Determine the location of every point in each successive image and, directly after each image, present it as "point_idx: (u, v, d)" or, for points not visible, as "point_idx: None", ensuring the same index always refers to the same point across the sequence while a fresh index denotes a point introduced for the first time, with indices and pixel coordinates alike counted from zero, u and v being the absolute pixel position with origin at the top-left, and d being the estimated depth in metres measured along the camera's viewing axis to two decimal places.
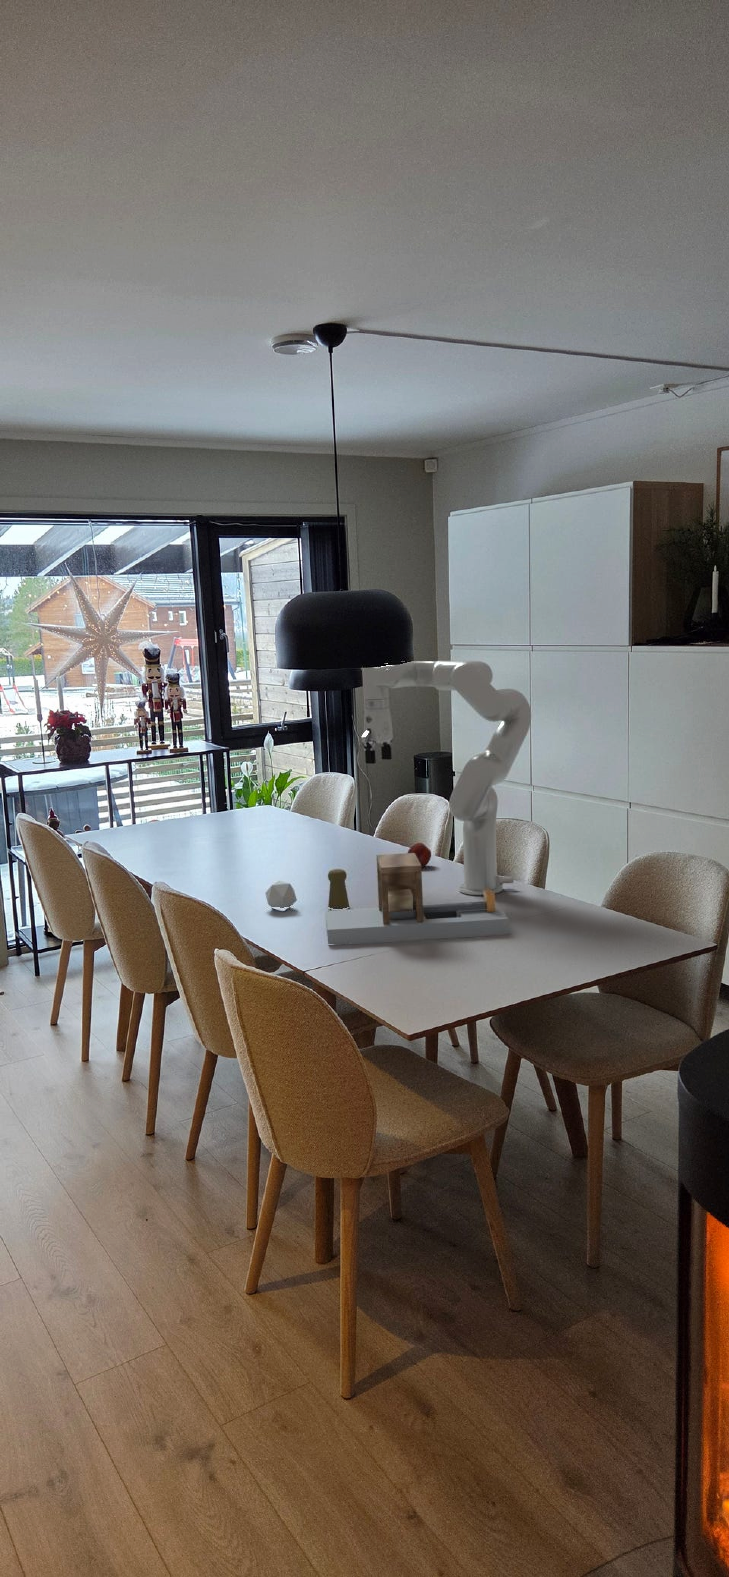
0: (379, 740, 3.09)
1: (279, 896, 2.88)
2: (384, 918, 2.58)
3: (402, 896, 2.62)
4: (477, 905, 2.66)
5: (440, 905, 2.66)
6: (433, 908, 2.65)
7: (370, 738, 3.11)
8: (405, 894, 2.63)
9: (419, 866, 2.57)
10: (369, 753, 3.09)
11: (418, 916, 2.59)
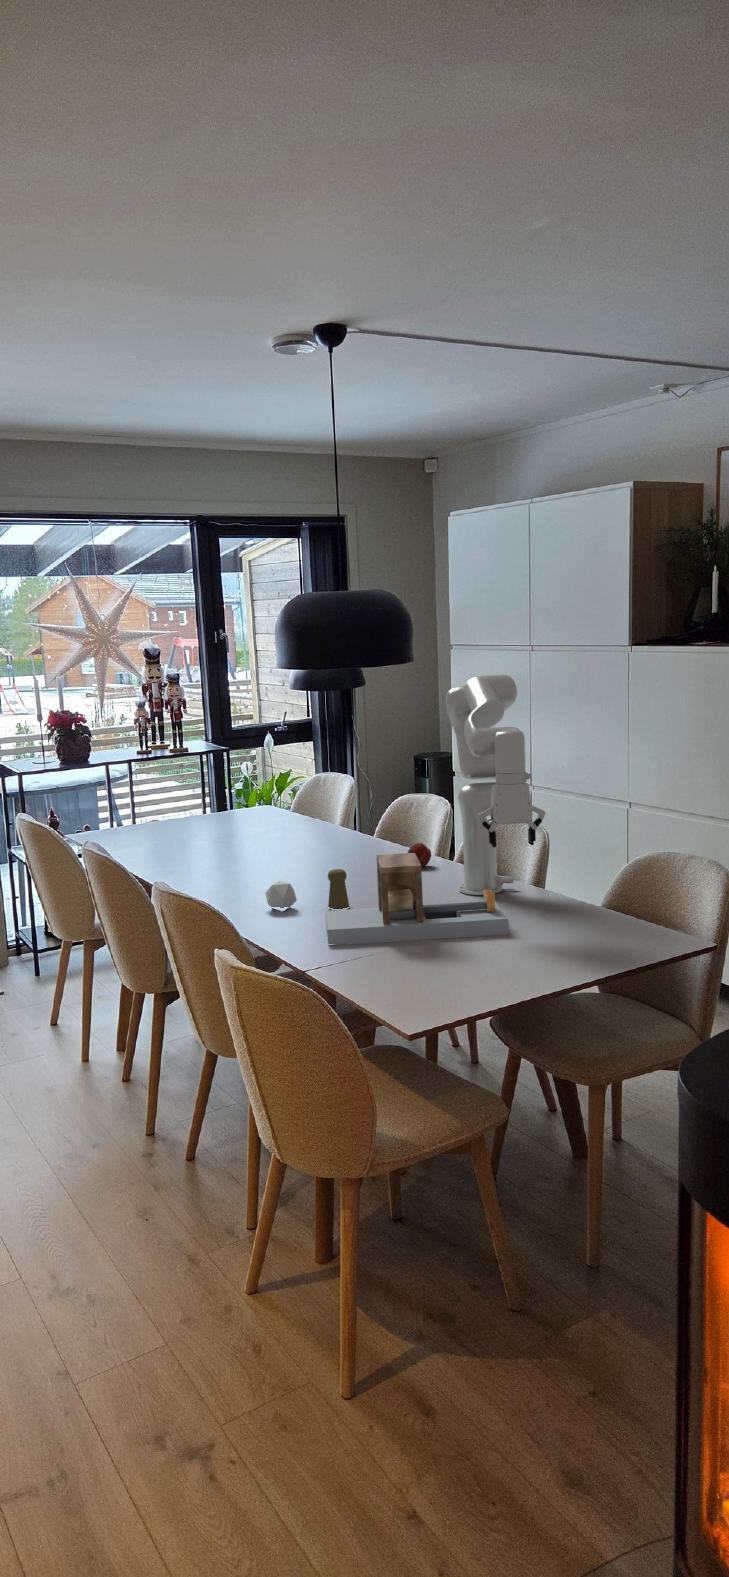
0: None
1: (279, 897, 2.88)
2: (384, 918, 2.58)
3: (402, 896, 2.62)
4: (477, 905, 2.66)
5: (440, 905, 2.66)
6: (433, 908, 2.65)
7: None
8: (405, 894, 2.63)
9: (419, 866, 2.57)
10: None
11: (418, 916, 2.59)
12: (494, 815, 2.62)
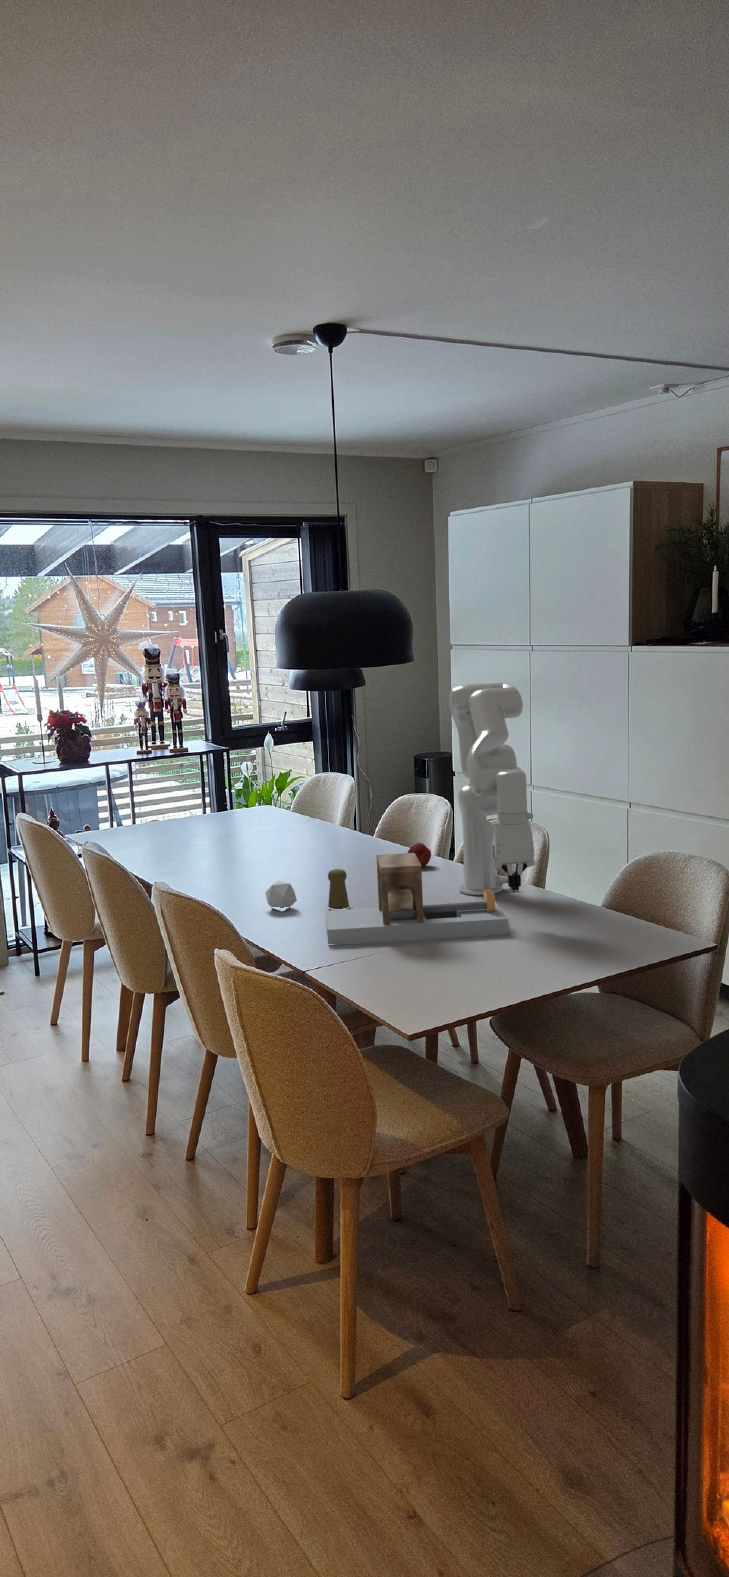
0: None
1: (279, 897, 2.88)
2: (384, 918, 2.58)
3: (402, 896, 2.62)
4: (477, 905, 2.66)
5: (440, 905, 2.66)
6: (433, 908, 2.65)
7: None
8: (405, 894, 2.63)
9: (419, 866, 2.57)
10: None
11: (418, 916, 2.59)
12: (496, 855, 2.63)
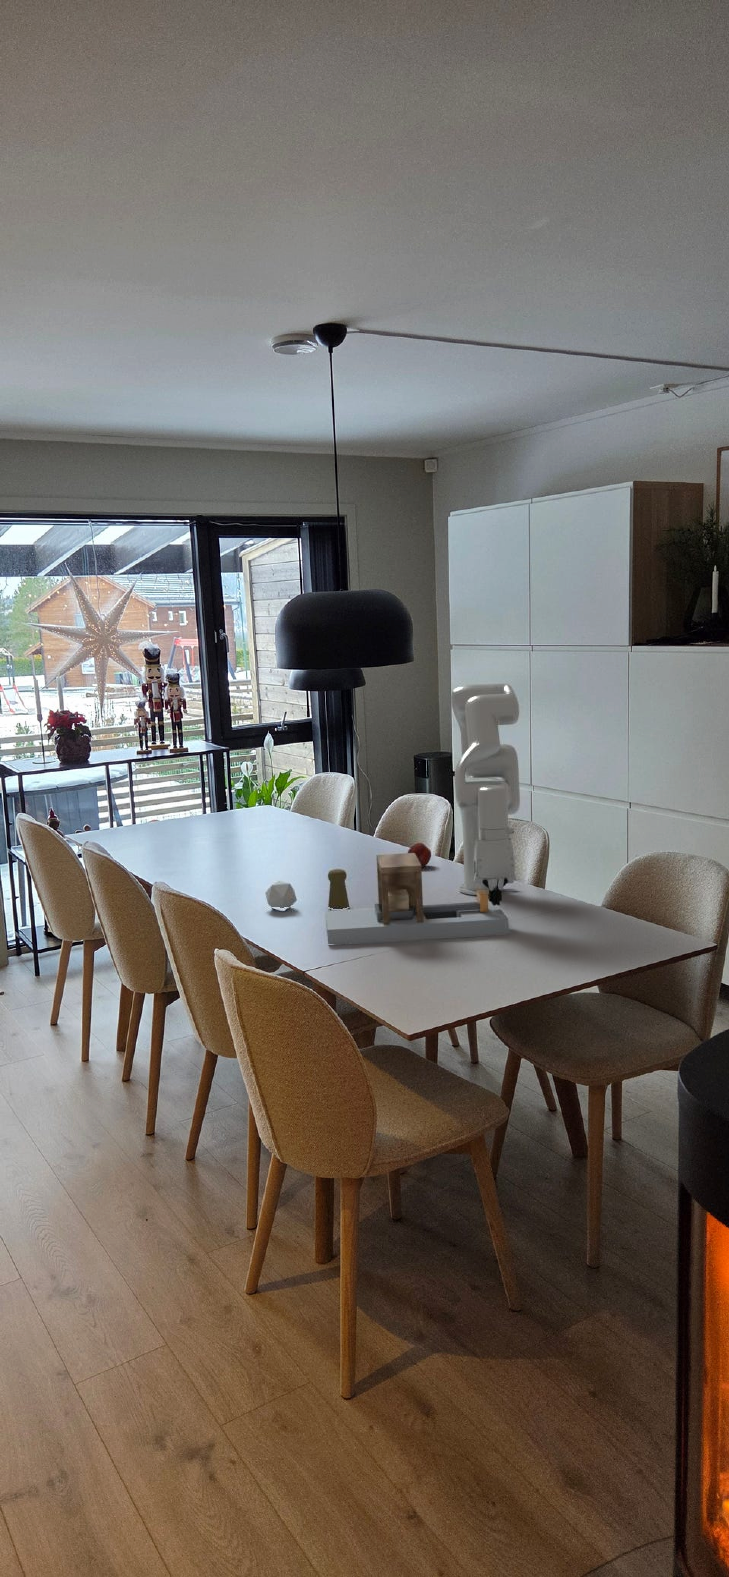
0: None
1: (279, 896, 2.88)
2: (384, 918, 2.58)
3: (398, 896, 2.62)
4: (470, 905, 2.66)
5: (433, 905, 2.66)
6: (426, 908, 2.65)
7: None
8: (401, 894, 2.63)
9: (419, 866, 2.57)
10: None
11: (418, 916, 2.59)
12: (477, 870, 2.64)
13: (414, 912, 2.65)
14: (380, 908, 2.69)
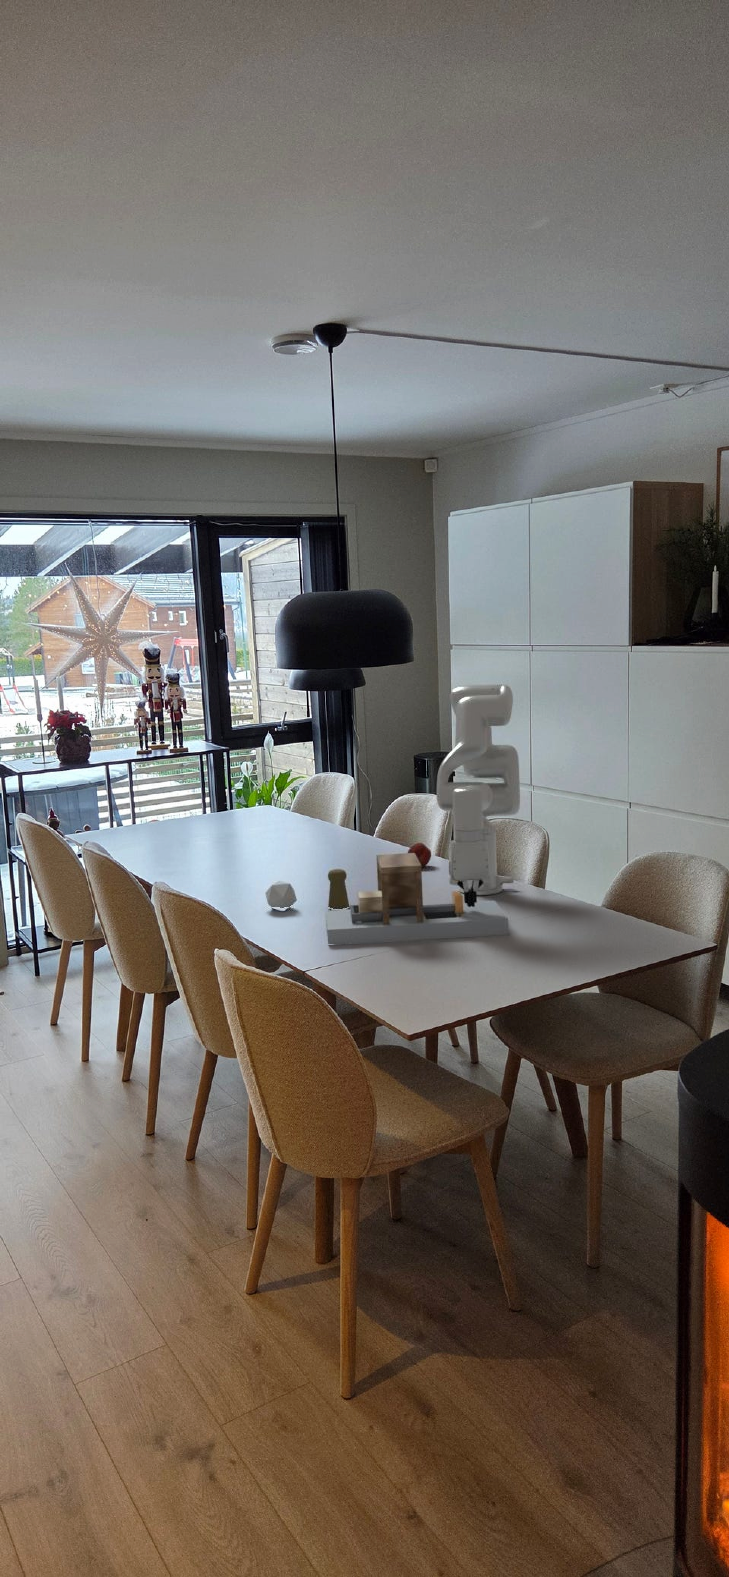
0: None
1: (279, 896, 2.88)
2: (384, 918, 2.58)
3: (372, 898, 2.62)
4: (445, 907, 2.65)
5: (408, 907, 2.66)
6: (401, 910, 2.65)
7: None
8: (376, 896, 2.63)
9: (419, 866, 2.57)
10: None
11: (418, 916, 2.59)
12: (452, 872, 2.63)
13: (389, 914, 2.65)
14: (355, 910, 2.69)
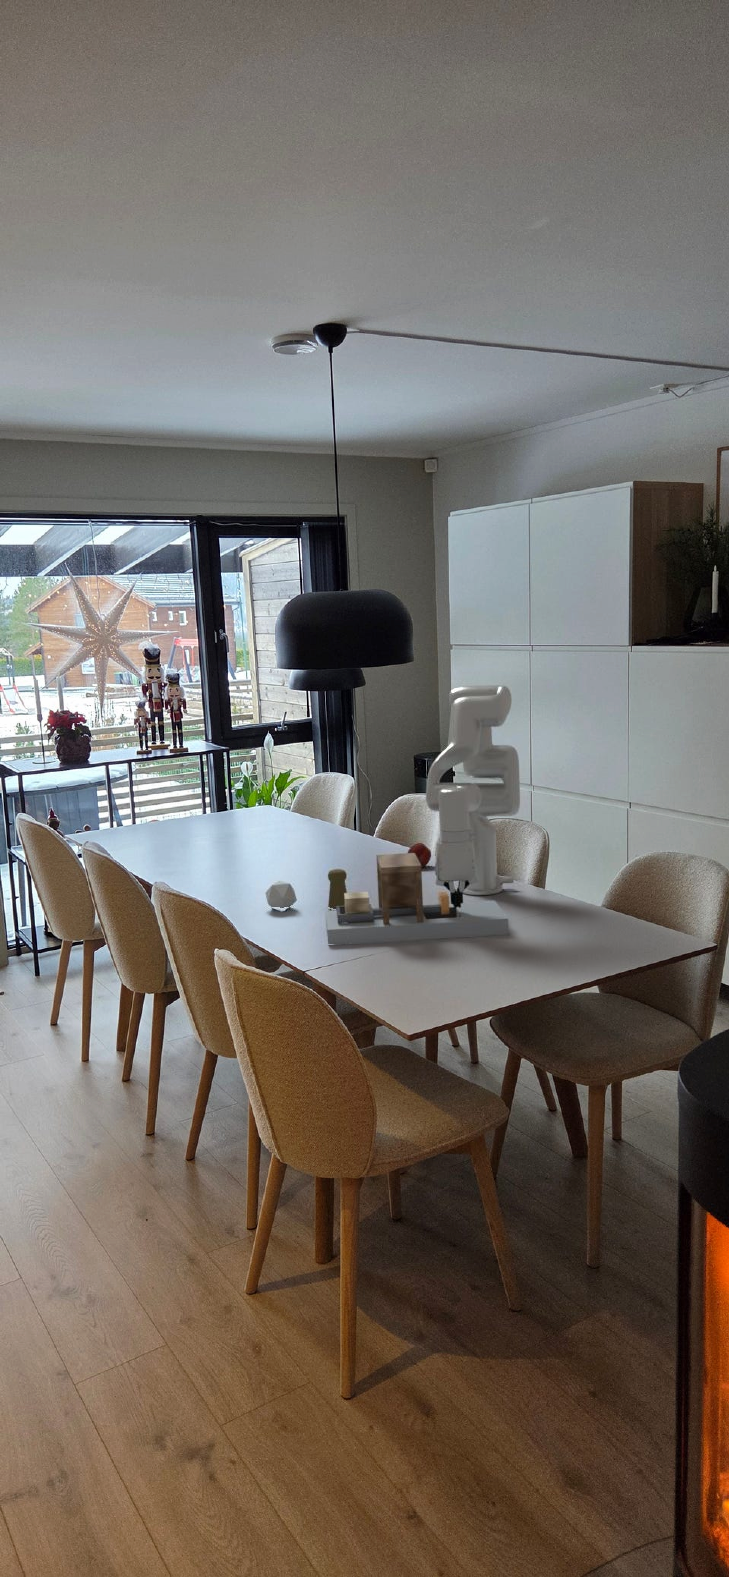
0: None
1: (279, 897, 2.88)
2: (384, 918, 2.58)
3: (358, 899, 2.62)
4: (431, 908, 2.65)
5: (394, 908, 2.65)
6: None
7: None
8: (362, 897, 2.62)
9: (419, 866, 2.57)
10: None
11: (418, 916, 2.59)
12: (438, 872, 2.63)
13: (375, 914, 2.64)
14: (342, 910, 2.69)
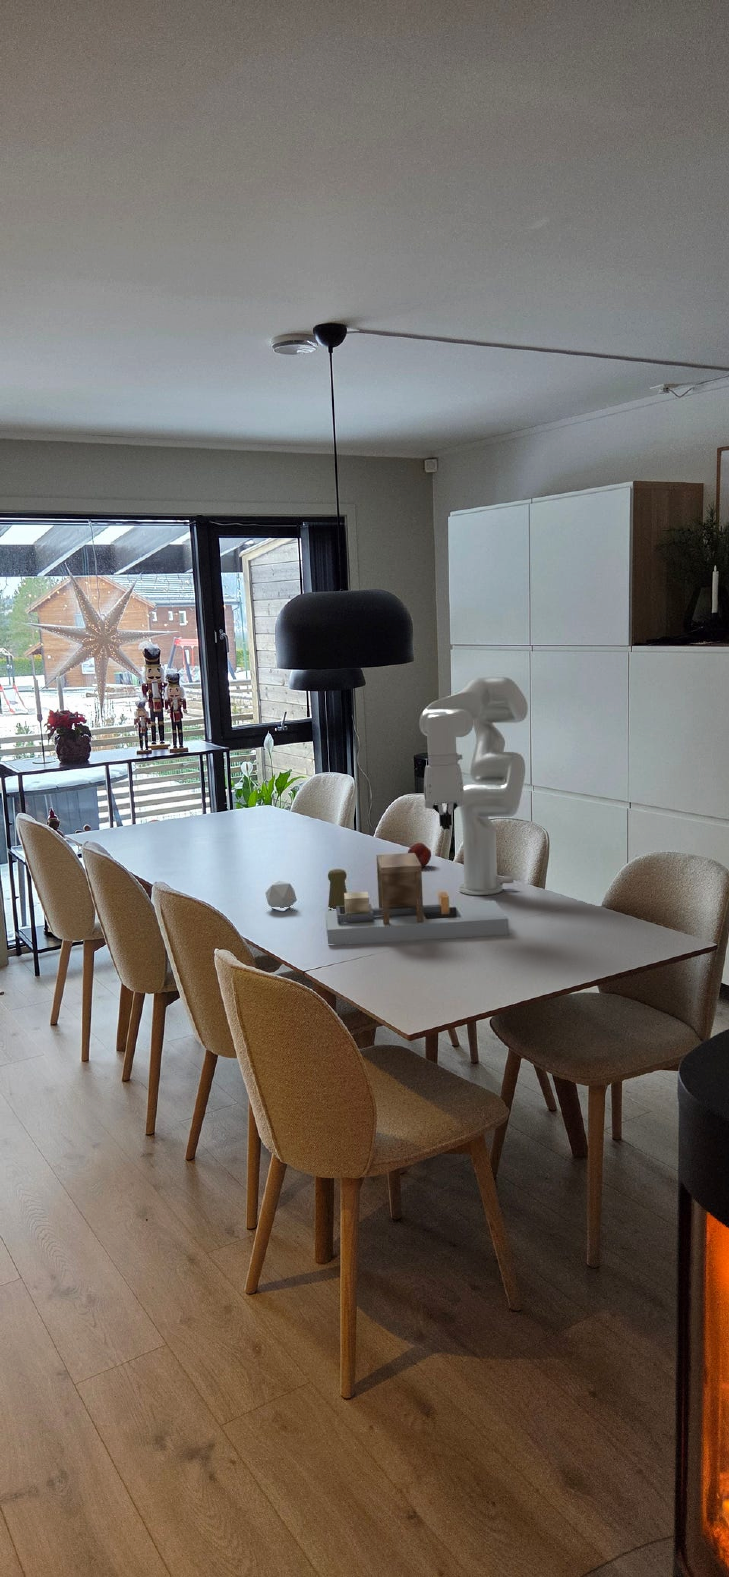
0: None
1: (279, 896, 2.88)
2: (384, 918, 2.58)
3: (358, 899, 2.62)
4: (431, 908, 2.65)
5: (394, 908, 2.65)
6: None
7: None
8: (361, 897, 2.62)
9: (419, 866, 2.57)
10: None
11: (418, 916, 2.59)
12: (427, 795, 2.72)
13: (375, 914, 2.64)
14: (341, 910, 2.69)
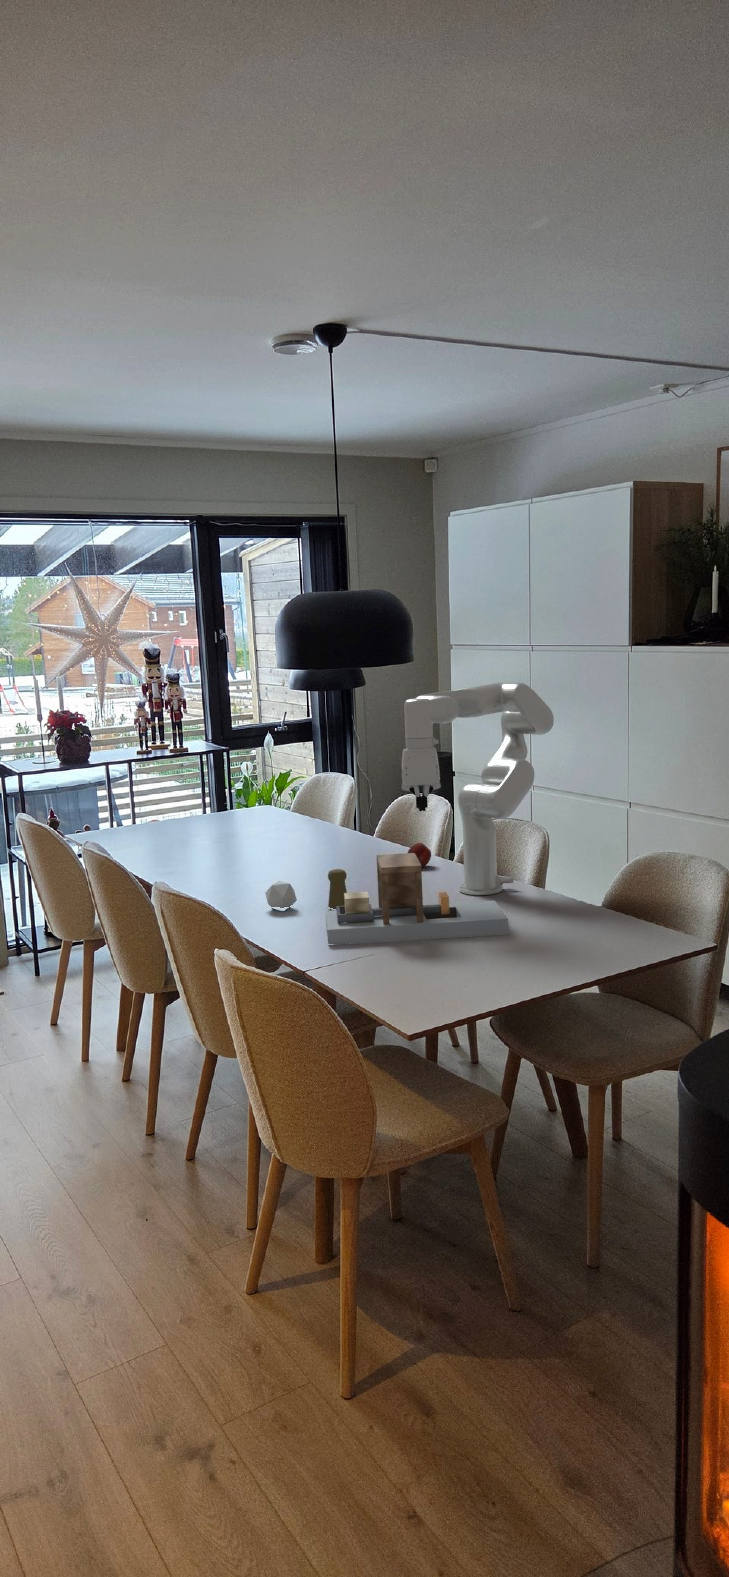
0: None
1: (279, 896, 2.88)
2: (384, 918, 2.58)
3: (358, 899, 2.62)
4: (431, 908, 2.65)
5: (394, 908, 2.65)
6: None
7: None
8: (361, 897, 2.62)
9: (419, 866, 2.57)
10: None
11: (418, 916, 2.59)
12: (404, 777, 2.81)
13: (375, 914, 2.64)
14: (341, 910, 2.69)
